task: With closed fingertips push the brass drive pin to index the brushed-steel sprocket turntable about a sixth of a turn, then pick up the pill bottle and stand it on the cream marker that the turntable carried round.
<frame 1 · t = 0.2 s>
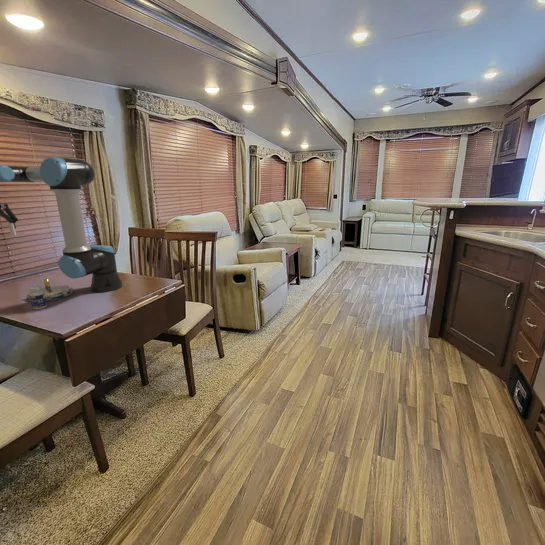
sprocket: (49, 288, 146), point 4 cm above the table, hinge at 0.0°
pill bottle: (40, 307, 133), on the table
base plate: (51, 295, 147), on the table
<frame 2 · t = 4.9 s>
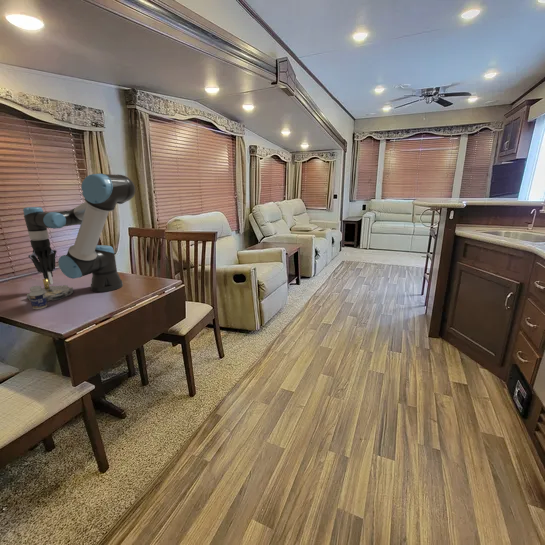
hand: (50, 283, 152), 4 cm above the table, fingers closed
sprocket: (49, 288, 146), point 4 cm above the table, hinge at 3.1°, touching gripper
everything else where it was.
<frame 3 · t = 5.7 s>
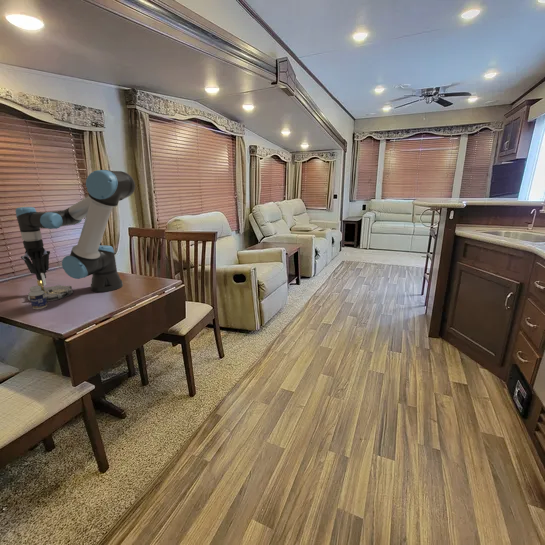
hand: (43, 285, 149), 4 cm above the table, fingers closed
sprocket: (49, 288, 146), point 4 cm above the table, hinge at 27.7°, touching gripper
everything else where it was.
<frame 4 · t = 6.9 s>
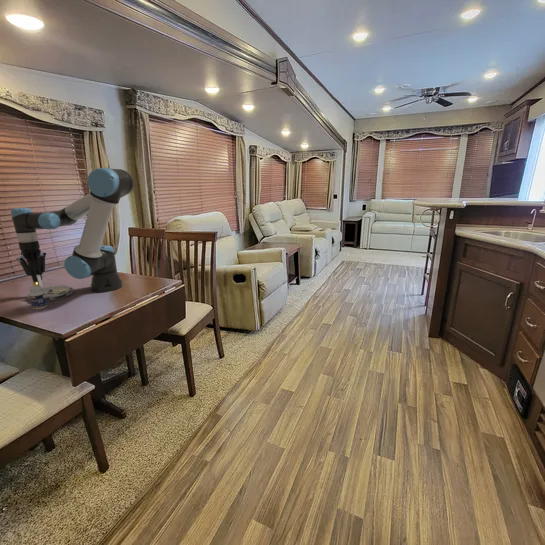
hand: (39, 287, 147), 4 cm above the table, fingers closed
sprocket: (49, 288, 146), point 4 cm above the table, hinge at 52.2°, touching gripper
everything else where it was.
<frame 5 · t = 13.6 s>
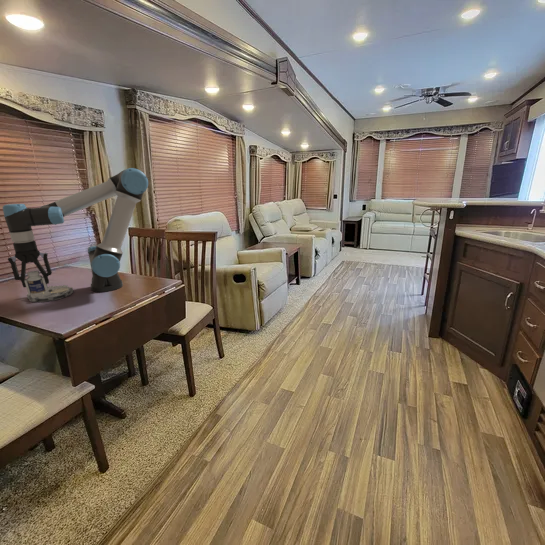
hand: (38, 292, 131), 7 cm above the table, fingers closed on pill bottle, 5 cm apart
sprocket: (49, 288, 146), point 4 cm above the table, hinge at 49.3°
pill bottle: (39, 293, 131), point 7 cm above the table, touching gripper
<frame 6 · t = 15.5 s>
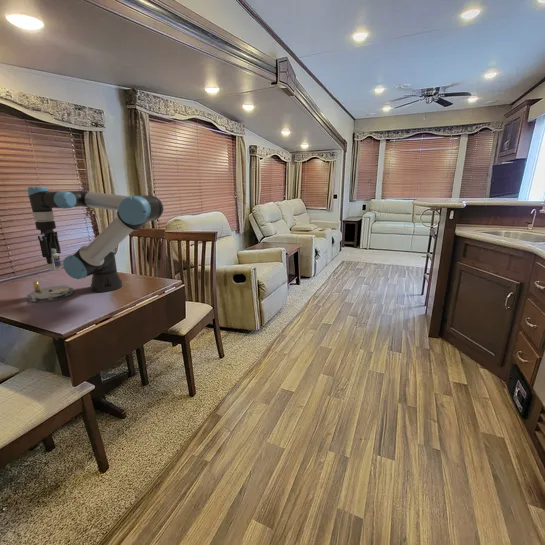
hand: (55, 268, 144), 14 cm above the table, fingers closed on pill bottle, 5 cm apart
pill bottle: (55, 269, 144), point 13 cm above the table, touching gripper
everything else where it was.
when the fingers open (3 cm above the table, at t = 17.6 s): pill bottle stays where it is, resting on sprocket.
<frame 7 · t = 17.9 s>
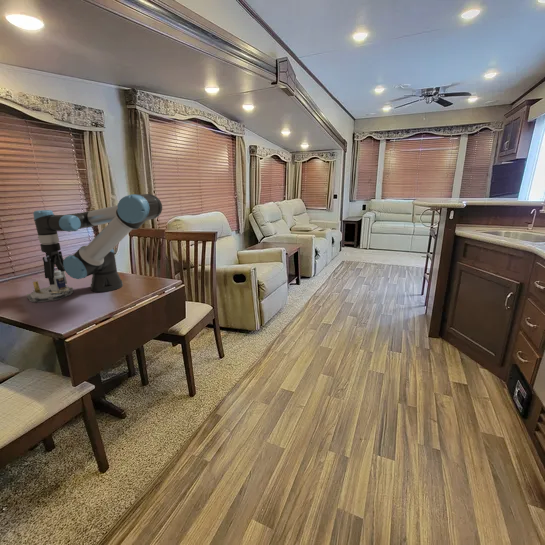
hand: (59, 286, 147), 4 cm above the table, fingers open, 9 cm apart
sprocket: (49, 288, 146), point 4 cm above the table, hinge at 49.3°, touching pill bottle
pill bottle: (60, 290, 147), point 2 cm above the table, touching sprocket
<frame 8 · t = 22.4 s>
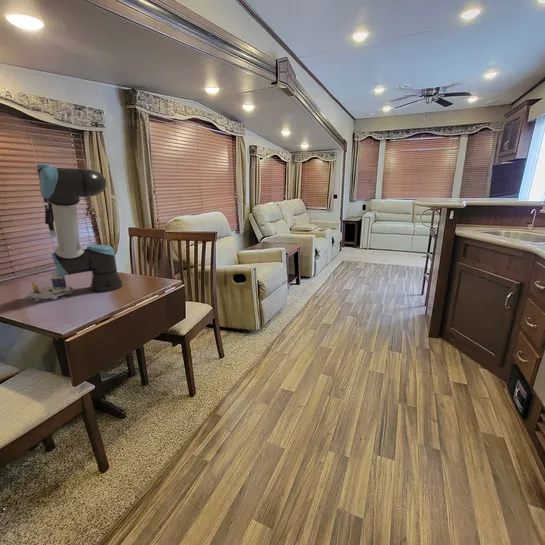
hand: (59, 234, 164), 27 cm above the table, fingers open, 13 cm apart
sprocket: (49, 288, 146), point 4 cm above the table, hinge at 59.7°, touching pill bottle
pill bottle: (60, 289, 148), point 2 cm above the table, touching arm, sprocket
at the end: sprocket at +60° (first picture: +0°); pill bottle 0.7 cm from the target spot on the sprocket, point 2.3 cm above the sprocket's base; pill bottle tilted 0° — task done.
